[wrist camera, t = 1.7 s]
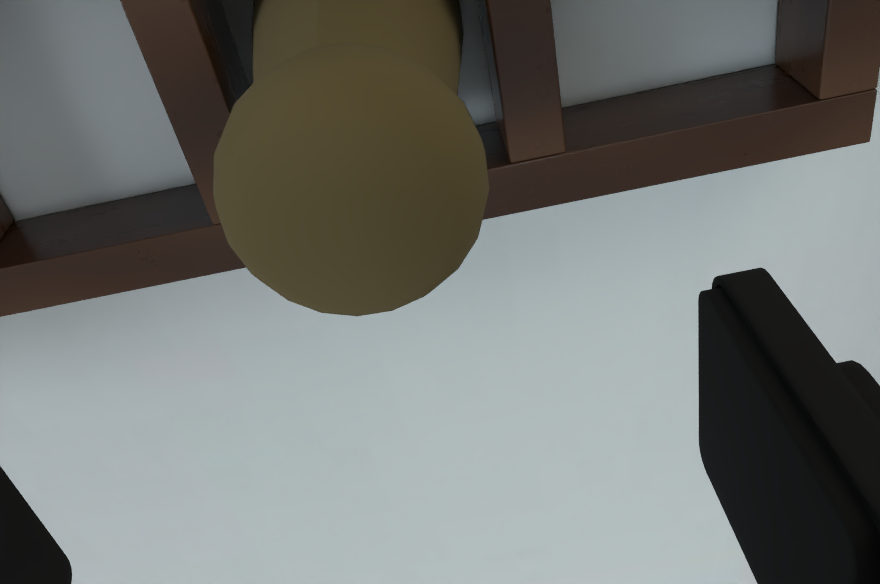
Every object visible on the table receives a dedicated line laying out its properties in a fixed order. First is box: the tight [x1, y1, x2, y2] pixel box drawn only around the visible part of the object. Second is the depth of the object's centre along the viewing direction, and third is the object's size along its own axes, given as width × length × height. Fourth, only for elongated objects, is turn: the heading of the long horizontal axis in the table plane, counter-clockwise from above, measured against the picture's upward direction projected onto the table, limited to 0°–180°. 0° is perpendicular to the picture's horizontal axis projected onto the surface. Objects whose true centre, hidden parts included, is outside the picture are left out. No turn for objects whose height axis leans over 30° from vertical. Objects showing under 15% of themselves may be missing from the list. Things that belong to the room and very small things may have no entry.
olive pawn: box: [213, 0, 489, 316], centre depth 18 cm, size 6×6×11 cm
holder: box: [0, 0, 880, 317], centre depth 22 cm, size 10×27×3 cm, turn 101°
